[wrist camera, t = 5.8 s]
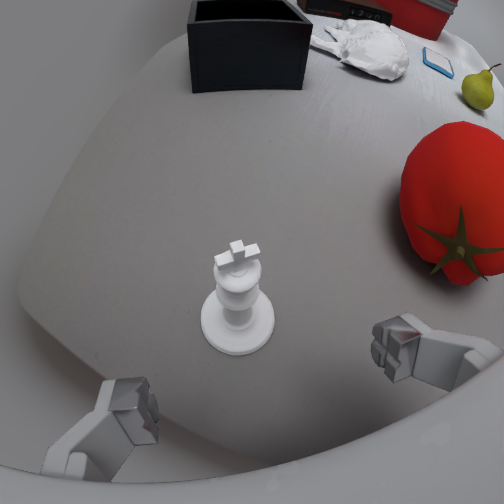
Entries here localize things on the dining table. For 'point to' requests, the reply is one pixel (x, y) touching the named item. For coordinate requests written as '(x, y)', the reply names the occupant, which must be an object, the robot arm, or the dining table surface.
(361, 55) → the figurine
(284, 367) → the dining table surface
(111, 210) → the dining table surface
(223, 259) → the chess piece
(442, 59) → the smartphone
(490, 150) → the tomato
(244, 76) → the waste bin
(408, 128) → the dining table surface
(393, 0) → the bucket
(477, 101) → the fruit
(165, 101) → the dining table surface
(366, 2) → the alarm clock
